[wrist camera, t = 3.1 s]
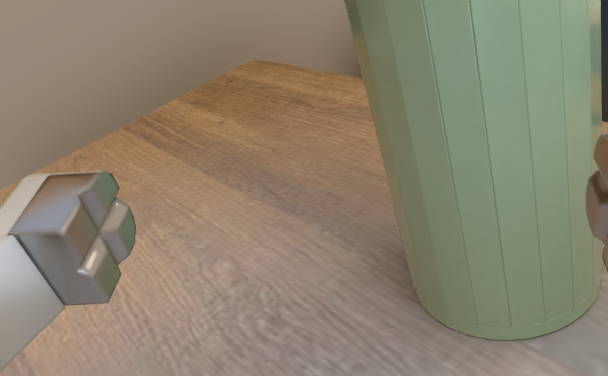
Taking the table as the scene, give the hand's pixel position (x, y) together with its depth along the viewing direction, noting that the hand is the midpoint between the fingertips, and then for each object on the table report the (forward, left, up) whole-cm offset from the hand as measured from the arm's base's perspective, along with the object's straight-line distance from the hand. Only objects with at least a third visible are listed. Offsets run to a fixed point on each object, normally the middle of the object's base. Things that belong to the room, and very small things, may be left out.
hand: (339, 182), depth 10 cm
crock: (-12, +16, -20) cm, 28 cm away
